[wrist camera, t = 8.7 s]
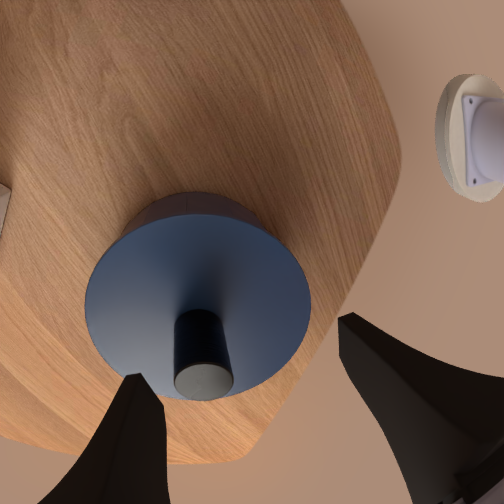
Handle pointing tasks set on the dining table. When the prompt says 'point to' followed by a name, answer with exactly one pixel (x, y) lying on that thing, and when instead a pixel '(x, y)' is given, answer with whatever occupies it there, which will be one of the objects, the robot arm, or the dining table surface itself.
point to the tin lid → (198, 305)
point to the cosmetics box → (3, 203)
